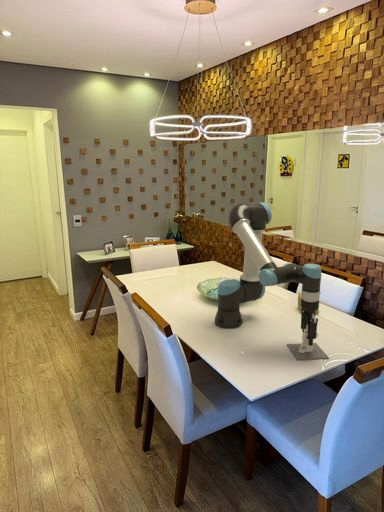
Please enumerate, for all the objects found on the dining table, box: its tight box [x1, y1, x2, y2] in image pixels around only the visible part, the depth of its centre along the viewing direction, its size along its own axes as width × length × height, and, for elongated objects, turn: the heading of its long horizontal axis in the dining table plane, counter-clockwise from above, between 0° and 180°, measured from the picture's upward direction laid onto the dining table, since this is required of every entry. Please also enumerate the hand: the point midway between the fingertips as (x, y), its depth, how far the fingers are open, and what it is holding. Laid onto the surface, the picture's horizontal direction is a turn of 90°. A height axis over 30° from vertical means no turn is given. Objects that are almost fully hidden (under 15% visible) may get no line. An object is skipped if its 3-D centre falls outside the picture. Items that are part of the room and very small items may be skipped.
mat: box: [286, 342, 330, 361], centre depth 159 cm, size 14×14×1 cm
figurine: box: [299, 325, 319, 353], centre depth 158 cm, size 5×9×12 cm, turn 122°
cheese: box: [297, 292, 319, 316], centre depth 206 cm, size 10×11×10 cm
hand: (307, 348), depth 159 cm, fingers closed on figurine, 4 cm apart
